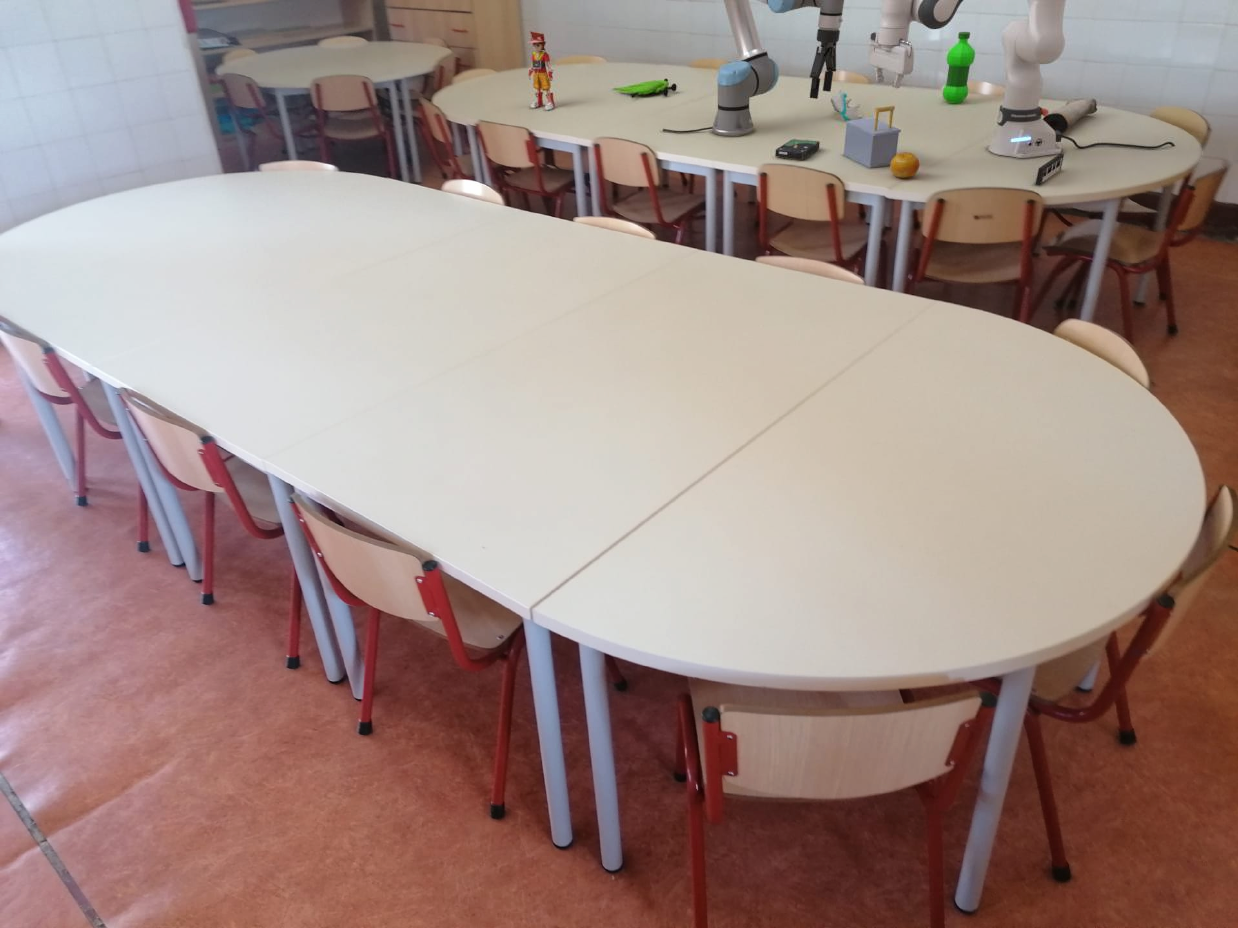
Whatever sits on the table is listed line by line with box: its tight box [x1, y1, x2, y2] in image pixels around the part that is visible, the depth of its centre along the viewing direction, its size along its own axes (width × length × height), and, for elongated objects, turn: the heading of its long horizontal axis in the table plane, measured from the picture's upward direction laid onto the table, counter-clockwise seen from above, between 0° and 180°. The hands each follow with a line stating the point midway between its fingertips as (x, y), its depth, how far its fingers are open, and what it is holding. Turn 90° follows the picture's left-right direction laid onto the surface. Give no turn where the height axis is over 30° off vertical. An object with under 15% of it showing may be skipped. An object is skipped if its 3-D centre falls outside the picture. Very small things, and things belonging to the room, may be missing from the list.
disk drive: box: [774, 138, 821, 161], centre depth 308 cm, size 10×3×15 cm
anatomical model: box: [830, 89, 864, 122], centre depth 343 cm, size 15×10×10 cm
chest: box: [843, 123, 900, 169], centre depth 297 cm, size 17×9×10 cm, turn 18°
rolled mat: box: [1042, 97, 1098, 135], centre depth 320 cm, size 30×9×10 cm
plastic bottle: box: [942, 31, 976, 104], centre depth 348 cm, size 10×10×25 cm
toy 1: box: [527, 31, 556, 111], centre depth 374 cm, size 12×9×30 cm
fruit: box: [889, 152, 920, 179], centre depth 281 cm, size 8×8×8 cm
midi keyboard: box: [1035, 153, 1065, 186], centre depth 273 cm, size 18×1×5 cm, turn 138°
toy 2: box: [612, 78, 677, 99], centre depth 396 cm, size 28×5×30 cm
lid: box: [846, 105, 902, 136], centre depth 291 cm, size 18×9×8 cm, turn 18°
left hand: (820, 94), depth 317 cm, fingers open, 13 cm apart
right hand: (887, 85), depth 281 cm, fingers open, 8 cm apart
